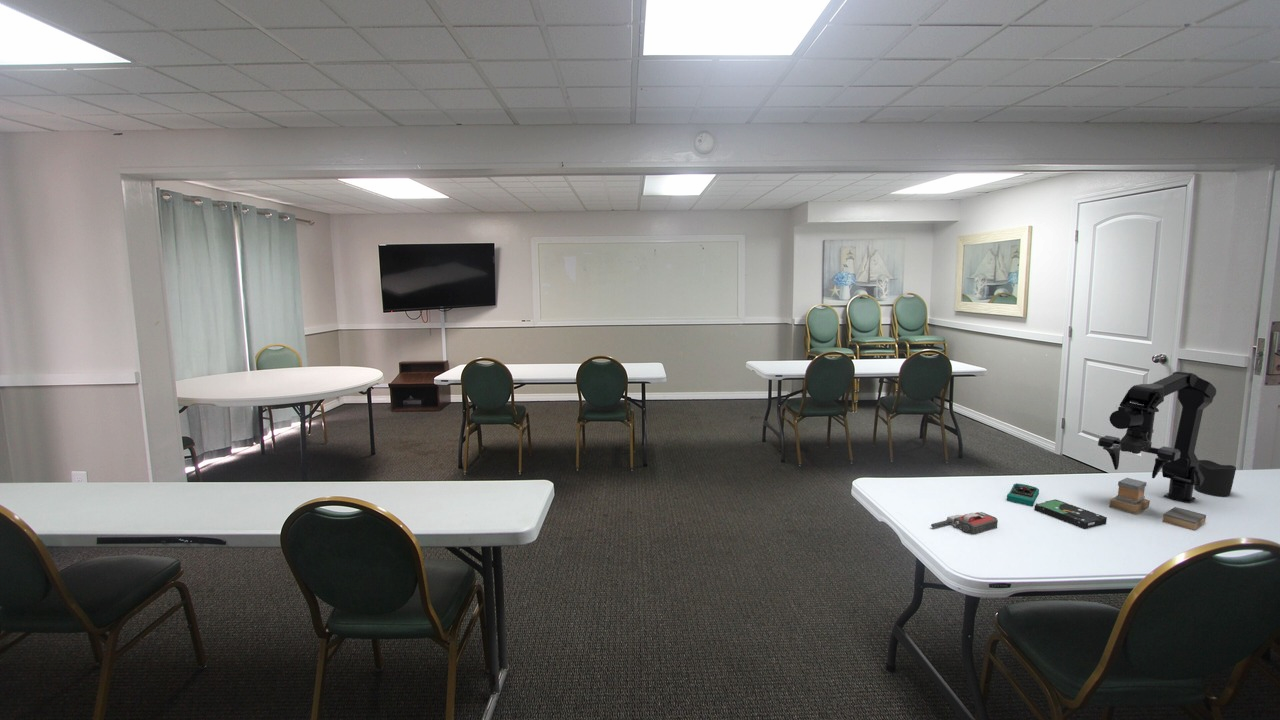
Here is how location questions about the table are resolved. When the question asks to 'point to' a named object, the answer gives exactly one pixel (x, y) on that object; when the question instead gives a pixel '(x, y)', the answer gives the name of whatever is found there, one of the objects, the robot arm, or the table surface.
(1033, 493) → the digital multimeter
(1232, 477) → the pen holder
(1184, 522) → the stand
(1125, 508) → the stand
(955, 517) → the walkie-talkie
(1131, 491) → the block
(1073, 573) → the table surface
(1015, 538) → the table surface
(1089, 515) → the disk drive
